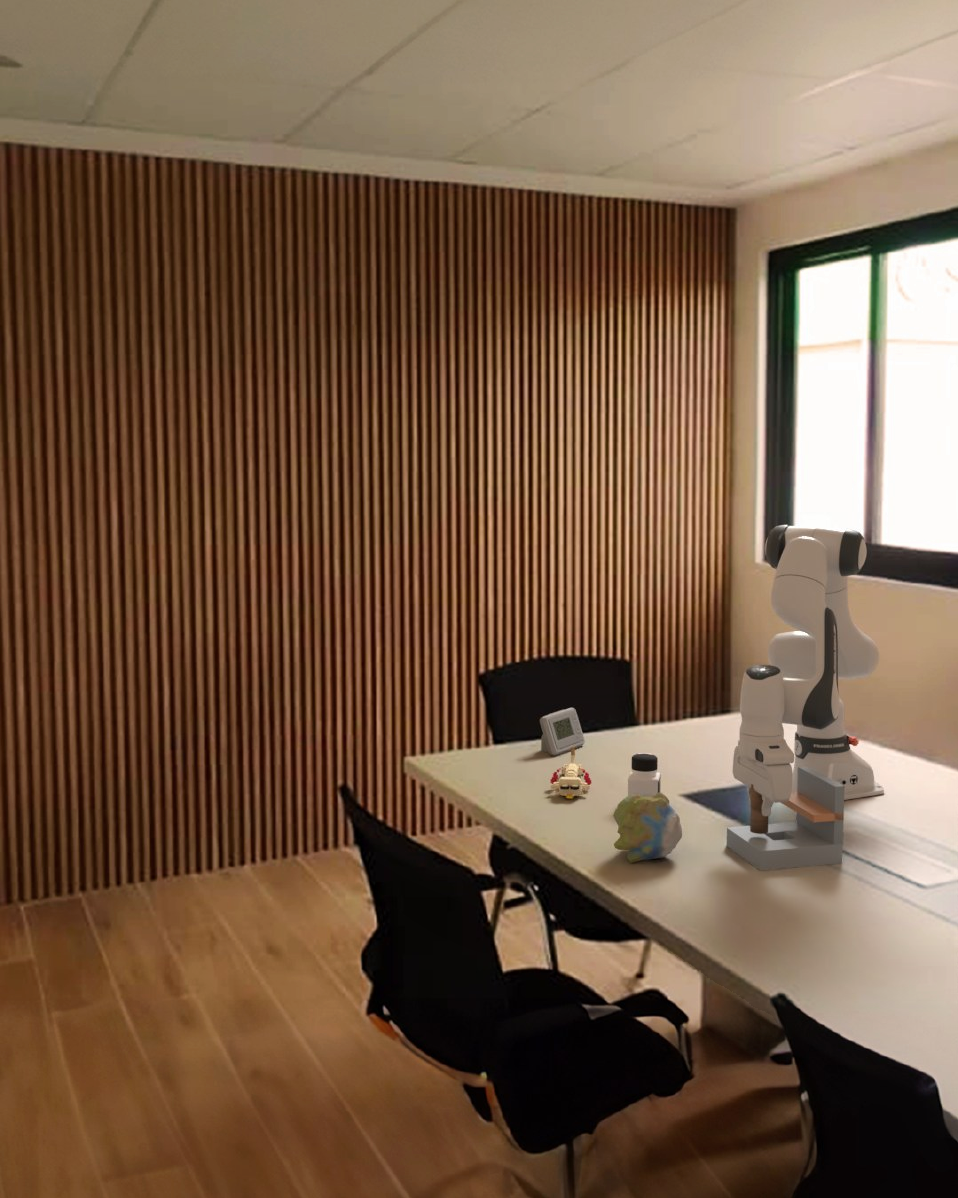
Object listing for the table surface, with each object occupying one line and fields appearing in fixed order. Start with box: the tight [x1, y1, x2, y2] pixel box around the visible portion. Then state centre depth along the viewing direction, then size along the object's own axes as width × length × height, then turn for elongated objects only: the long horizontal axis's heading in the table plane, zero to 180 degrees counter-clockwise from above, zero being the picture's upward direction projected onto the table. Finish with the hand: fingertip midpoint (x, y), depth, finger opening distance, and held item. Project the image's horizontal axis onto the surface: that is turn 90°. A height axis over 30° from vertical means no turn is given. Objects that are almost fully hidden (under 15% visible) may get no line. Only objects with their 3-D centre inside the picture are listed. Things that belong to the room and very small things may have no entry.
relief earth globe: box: [613, 792, 683, 864], centre depth 263 cm, size 14×16×15 cm
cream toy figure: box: [549, 747, 592, 799], centre depth 316 cm, size 10×9×25 cm
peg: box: [749, 784, 769, 834], centre depth 262 cm, size 4×4×10 cm
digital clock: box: [539, 707, 586, 757], centre depth 353 cm, size 16×9×11 cm, turn 132°
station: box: [726, 766, 845, 871], centre depth 264 cm, size 18×16×16 cm
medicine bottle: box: [627, 752, 662, 796], centre depth 300 cm, size 7×7×12 cm
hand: (760, 811), depth 262 cm, fingers closed on peg, 4 cm apart
